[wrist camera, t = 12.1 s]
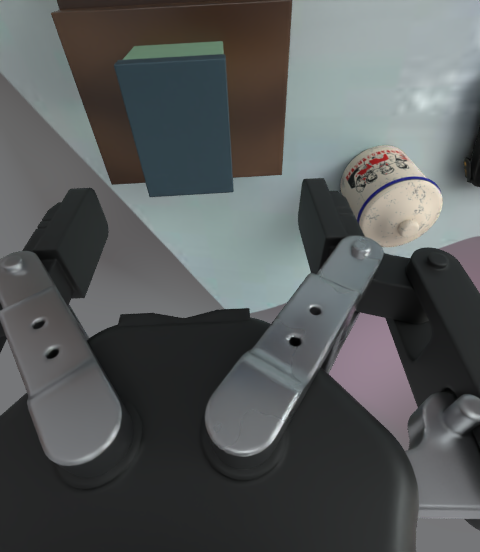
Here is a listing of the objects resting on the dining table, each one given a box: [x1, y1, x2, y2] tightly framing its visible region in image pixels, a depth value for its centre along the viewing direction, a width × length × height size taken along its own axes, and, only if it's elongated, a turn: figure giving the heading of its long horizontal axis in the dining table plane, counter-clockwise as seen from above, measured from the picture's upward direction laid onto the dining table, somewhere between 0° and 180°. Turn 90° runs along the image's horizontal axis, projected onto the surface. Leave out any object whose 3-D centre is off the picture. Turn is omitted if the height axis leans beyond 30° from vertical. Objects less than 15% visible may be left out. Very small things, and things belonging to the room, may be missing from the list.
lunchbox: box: [114, 41, 233, 197], centre depth 21 cm, size 8×6×5 cm
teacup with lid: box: [341, 145, 443, 247], centre depth 38 cm, size 12×9×12 cm
